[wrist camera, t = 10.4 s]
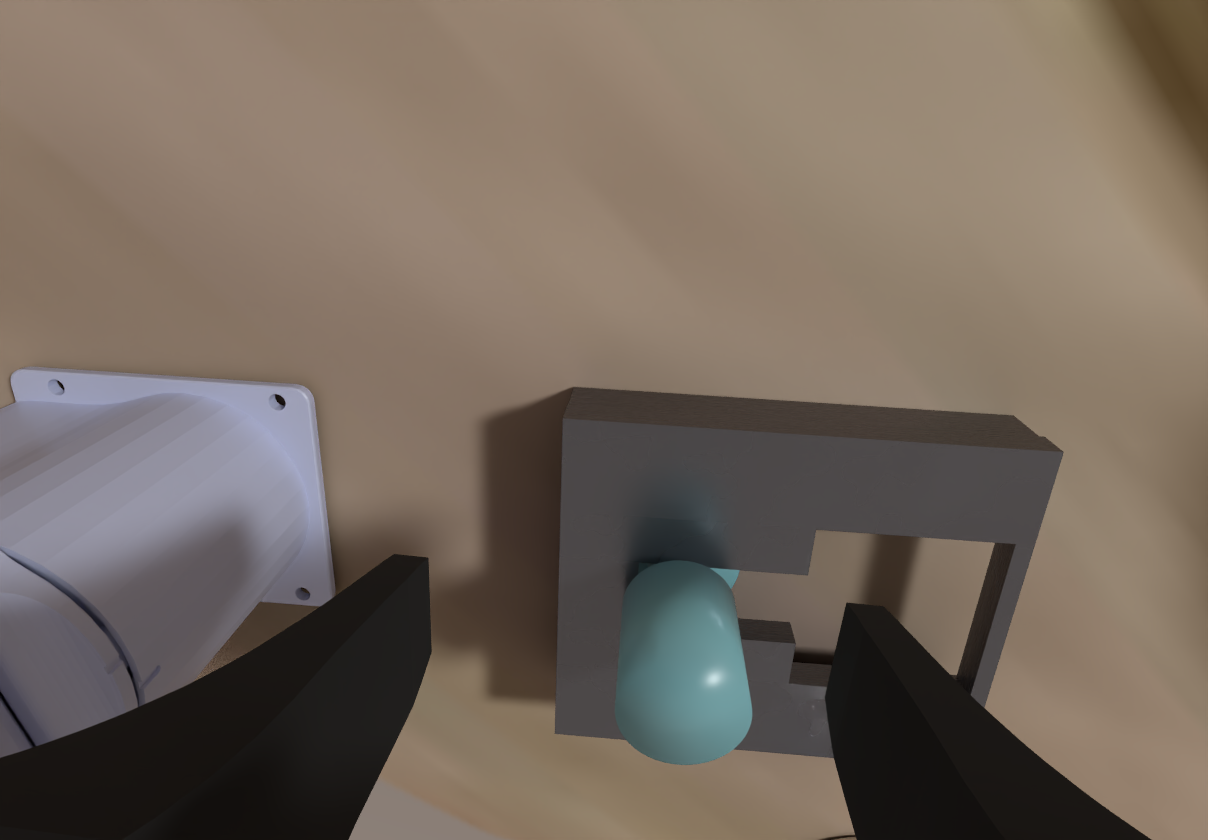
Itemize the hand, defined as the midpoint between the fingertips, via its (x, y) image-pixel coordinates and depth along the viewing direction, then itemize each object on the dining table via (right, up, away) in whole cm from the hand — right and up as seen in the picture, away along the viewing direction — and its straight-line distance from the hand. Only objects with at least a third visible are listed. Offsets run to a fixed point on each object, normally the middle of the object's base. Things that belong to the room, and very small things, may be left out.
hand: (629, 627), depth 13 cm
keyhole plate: (+5, -1, +11) cm, 12 cm away
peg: (+2, -1, +11) cm, 11 cm away
